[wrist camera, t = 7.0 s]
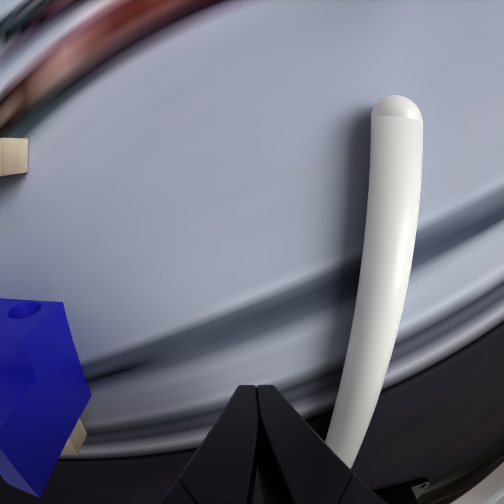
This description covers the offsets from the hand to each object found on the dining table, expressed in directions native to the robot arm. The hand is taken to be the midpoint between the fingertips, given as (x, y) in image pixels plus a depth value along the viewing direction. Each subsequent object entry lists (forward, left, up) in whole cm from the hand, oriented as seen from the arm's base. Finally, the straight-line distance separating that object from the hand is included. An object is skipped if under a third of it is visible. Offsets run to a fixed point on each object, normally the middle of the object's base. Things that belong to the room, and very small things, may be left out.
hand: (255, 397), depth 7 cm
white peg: (0, -4, -4) cm, 5 cm away
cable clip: (-2, +13, -4) cm, 14 cm away
